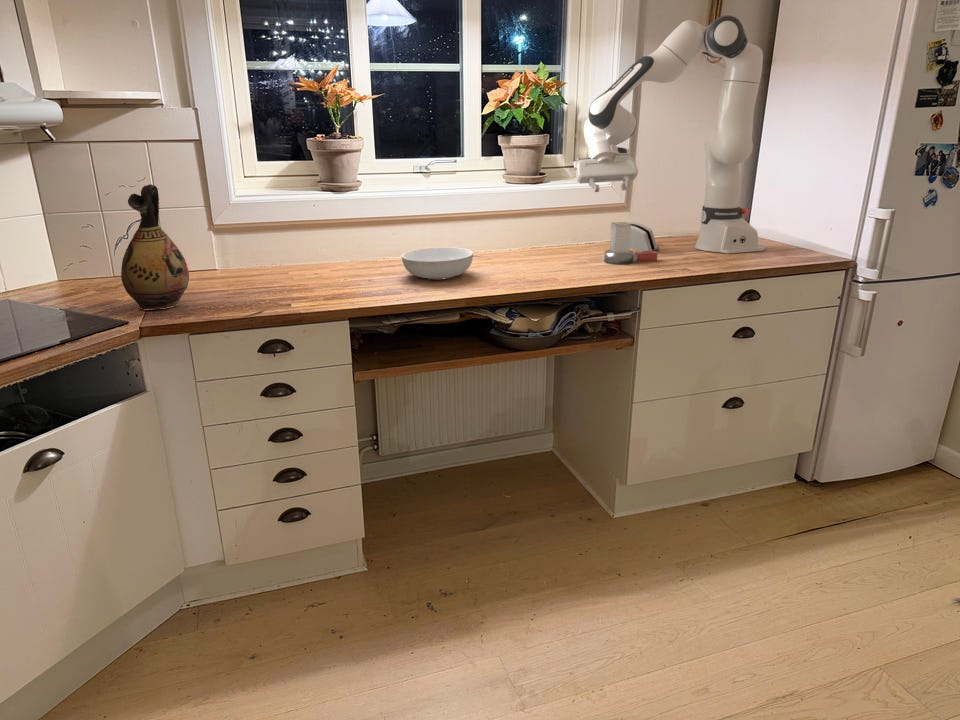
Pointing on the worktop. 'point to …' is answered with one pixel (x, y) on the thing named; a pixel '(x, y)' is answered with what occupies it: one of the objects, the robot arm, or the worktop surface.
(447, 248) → the serving bowl
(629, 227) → the grey block
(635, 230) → the grey black slotted block
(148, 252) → the ceramic jug
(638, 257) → the grey dome with handle
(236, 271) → the worktop surface
